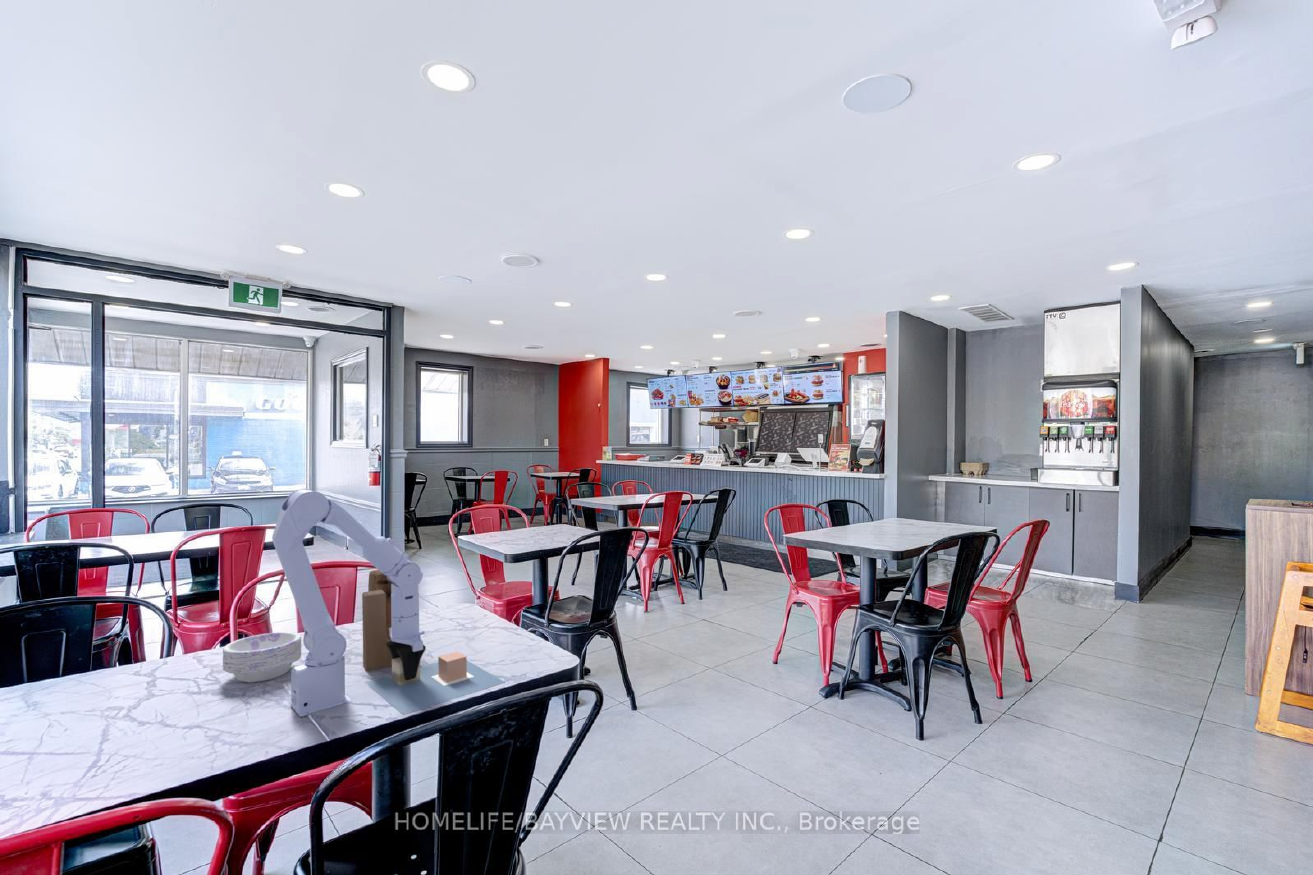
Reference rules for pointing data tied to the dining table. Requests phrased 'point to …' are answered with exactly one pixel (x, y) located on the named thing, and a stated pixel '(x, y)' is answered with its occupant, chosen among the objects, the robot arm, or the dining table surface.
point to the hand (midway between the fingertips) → (406, 675)
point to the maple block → (401, 672)
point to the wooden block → (375, 631)
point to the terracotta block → (452, 666)
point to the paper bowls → (262, 656)
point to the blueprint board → (432, 688)
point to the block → (382, 583)
